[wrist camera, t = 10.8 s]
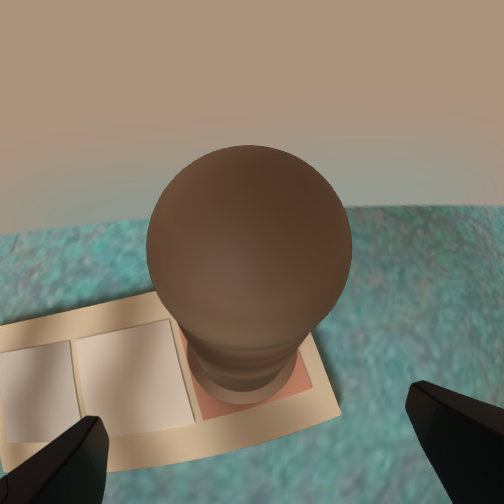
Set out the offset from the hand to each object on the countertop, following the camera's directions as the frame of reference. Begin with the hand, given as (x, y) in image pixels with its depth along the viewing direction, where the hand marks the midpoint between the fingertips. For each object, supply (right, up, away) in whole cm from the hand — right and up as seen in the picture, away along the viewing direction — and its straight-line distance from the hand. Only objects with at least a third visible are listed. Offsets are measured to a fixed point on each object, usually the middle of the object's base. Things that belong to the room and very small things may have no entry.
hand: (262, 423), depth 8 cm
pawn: (-1, -1, +9) cm, 9 cm away
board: (-7, -3, +9) cm, 12 cm away
